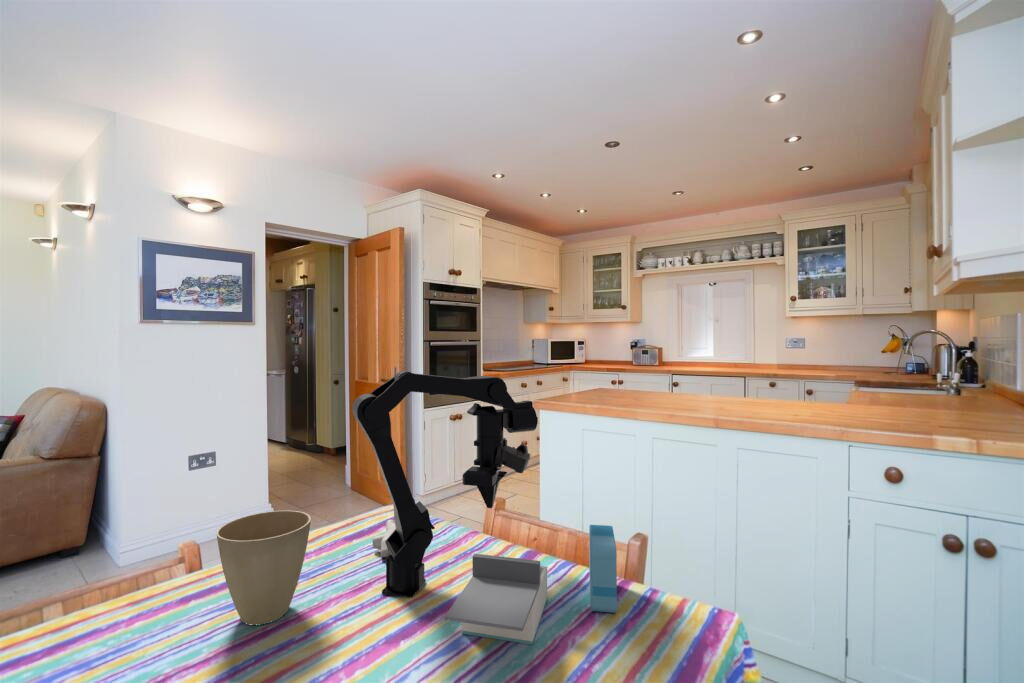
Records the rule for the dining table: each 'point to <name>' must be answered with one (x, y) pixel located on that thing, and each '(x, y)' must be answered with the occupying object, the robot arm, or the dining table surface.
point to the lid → (498, 592)
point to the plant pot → (263, 562)
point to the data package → (602, 569)
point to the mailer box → (530, 625)
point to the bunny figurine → (384, 539)
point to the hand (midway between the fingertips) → (490, 507)
